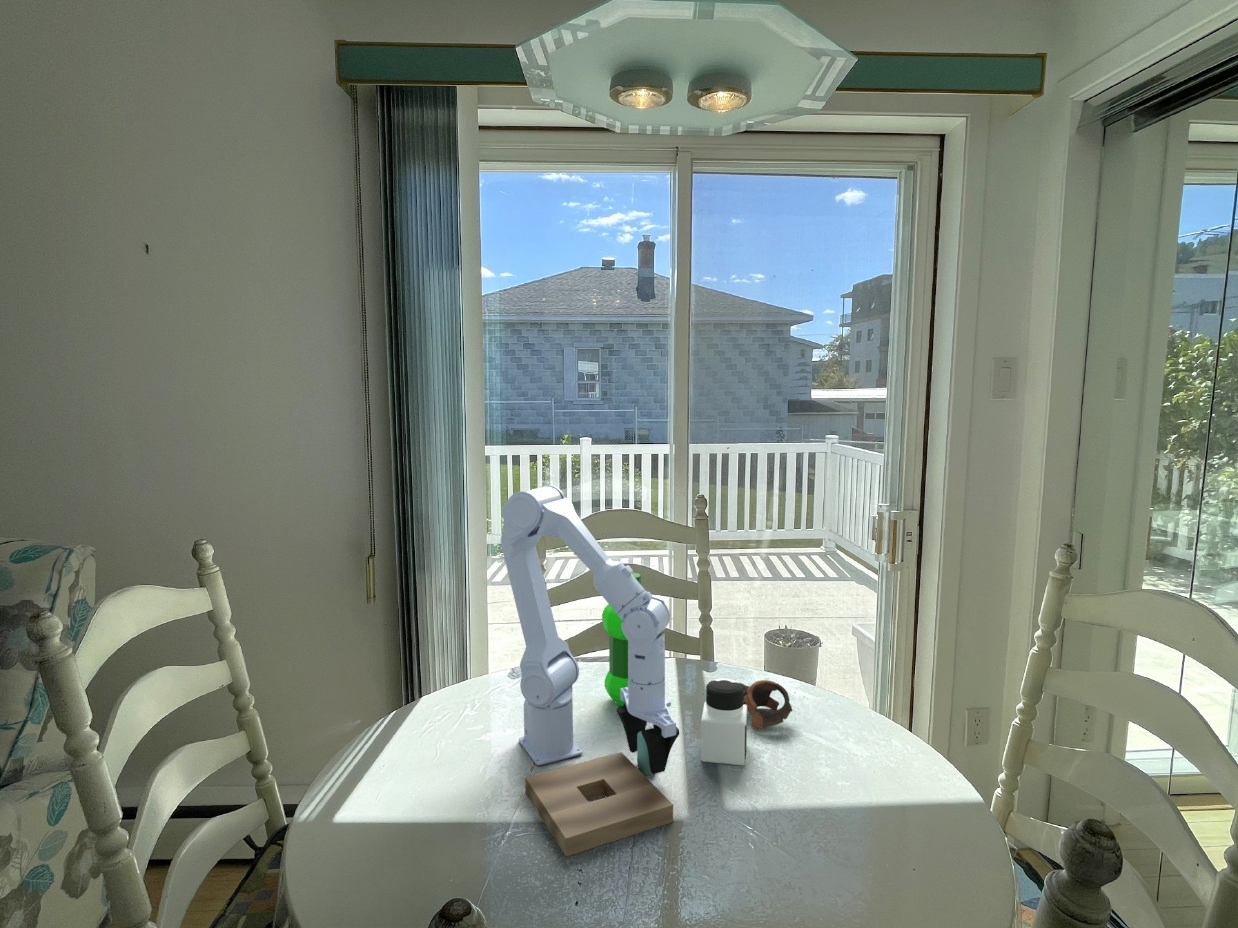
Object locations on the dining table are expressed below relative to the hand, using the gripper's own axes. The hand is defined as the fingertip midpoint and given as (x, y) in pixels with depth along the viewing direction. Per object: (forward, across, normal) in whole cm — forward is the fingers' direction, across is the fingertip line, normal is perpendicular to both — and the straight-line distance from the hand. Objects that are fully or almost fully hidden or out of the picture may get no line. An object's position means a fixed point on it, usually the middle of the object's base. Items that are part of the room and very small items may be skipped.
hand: (646, 760), depth 109 cm
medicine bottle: (+2, -1, -14) cm, 14 cm away
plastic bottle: (+2, +23, -9) cm, 25 cm away
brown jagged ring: (+2, +6, -27) cm, 27 cm away
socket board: (+2, -5, +11) cm, 12 cm away
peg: (+2, 0, 0) cm, 2 cm away
